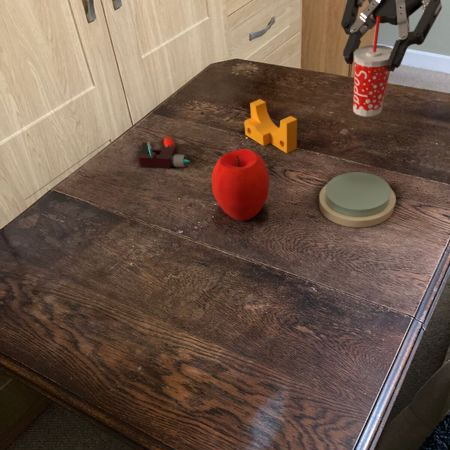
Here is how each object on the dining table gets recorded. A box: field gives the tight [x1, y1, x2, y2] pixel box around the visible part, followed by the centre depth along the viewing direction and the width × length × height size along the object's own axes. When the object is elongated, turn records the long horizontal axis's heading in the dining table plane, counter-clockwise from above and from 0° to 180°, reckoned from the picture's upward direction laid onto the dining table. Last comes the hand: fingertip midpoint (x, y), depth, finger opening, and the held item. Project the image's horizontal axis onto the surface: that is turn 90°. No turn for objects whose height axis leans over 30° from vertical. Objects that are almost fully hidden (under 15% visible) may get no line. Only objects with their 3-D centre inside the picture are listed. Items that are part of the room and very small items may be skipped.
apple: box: [211, 148, 270, 222], centre depth 84 cm, size 10×10×12 cm
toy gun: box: [136, 136, 191, 169], centre depth 102 cm, size 10×12×5 cm
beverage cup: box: [352, 16, 393, 118], centre depth 76 cm, size 6×6×14 cm
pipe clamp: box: [244, 98, 298, 154], centre depth 102 cm, size 12×4×6 cm, turn 34°
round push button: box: [318, 171, 397, 229], centre depth 86 cm, size 13×13×3 cm
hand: (368, 65), depth 74 cm, fingers closed on beverage cup, 6 cm apart
